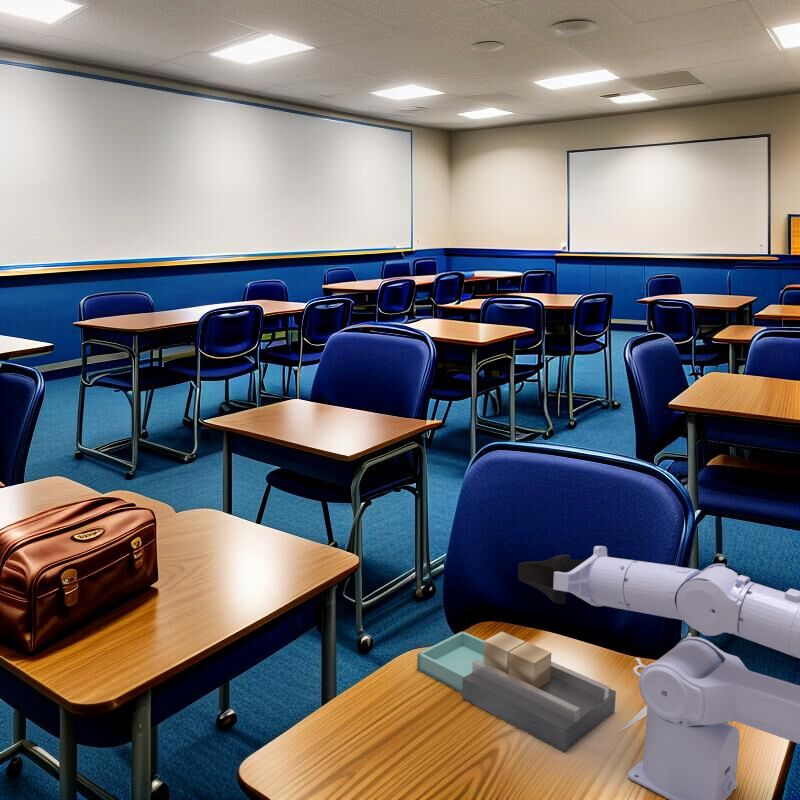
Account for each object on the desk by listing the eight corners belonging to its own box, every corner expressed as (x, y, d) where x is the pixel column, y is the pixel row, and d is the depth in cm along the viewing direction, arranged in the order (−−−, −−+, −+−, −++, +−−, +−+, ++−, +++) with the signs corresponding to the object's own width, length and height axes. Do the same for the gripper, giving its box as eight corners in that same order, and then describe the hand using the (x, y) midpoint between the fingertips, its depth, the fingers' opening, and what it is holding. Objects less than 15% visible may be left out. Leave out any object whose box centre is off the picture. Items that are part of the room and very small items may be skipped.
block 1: (524, 668, 102) (525, 641, 102) (506, 679, 99) (507, 651, 99) (500, 657, 105) (501, 631, 104) (483, 668, 102) (484, 640, 101)
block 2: (550, 680, 99) (551, 652, 99) (532, 691, 96) (534, 663, 96) (525, 669, 102) (526, 641, 101) (507, 679, 99) (508, 652, 99)
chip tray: (509, 668, 108) (510, 652, 108) (465, 694, 101) (465, 677, 101) (461, 646, 114) (462, 631, 114) (417, 669, 107) (417, 653, 107)
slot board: (614, 712, 97) (616, 680, 97) (564, 752, 89) (566, 718, 88) (515, 666, 108) (516, 637, 108) (462, 698, 100) (463, 667, 99)
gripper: (666, 549, 91) (570, 538, 101) (603, 551, 81) (504, 538, 91) (664, 608, 90) (568, 591, 100) (601, 617, 80) (501, 597, 90)
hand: (537, 570), depth 95 cm, fingers open, 7 cm apart
